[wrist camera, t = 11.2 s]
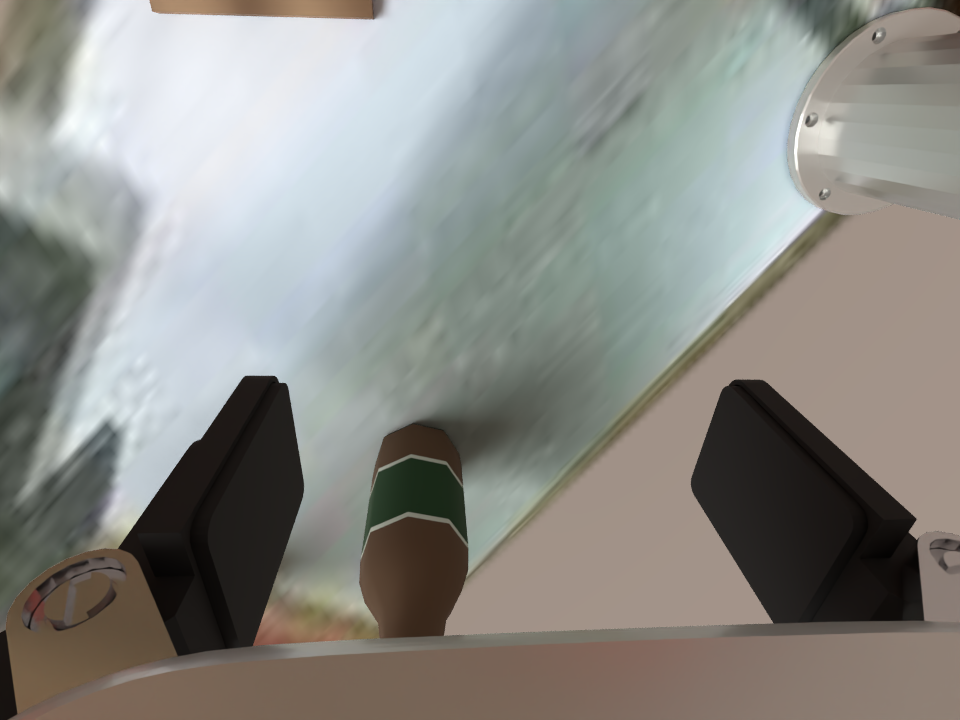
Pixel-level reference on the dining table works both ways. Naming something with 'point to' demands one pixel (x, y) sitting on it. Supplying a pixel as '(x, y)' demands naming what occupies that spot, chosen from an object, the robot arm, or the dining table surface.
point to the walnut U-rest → (269, 8)
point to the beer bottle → (414, 534)
